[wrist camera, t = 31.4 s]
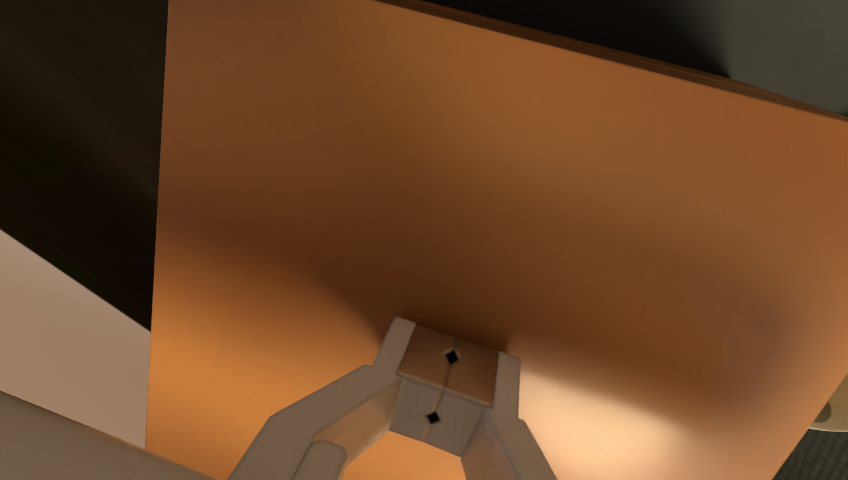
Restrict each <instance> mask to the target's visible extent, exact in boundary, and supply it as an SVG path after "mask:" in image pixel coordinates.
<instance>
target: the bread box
mask: <svg viewBox="0 0 848 480" xmlns="http://www.w3.org/2000/svg"><path fill="white" fill-rule="evenodd" d="M375 1H379V2H383V3H387V4H391V5H395V6H399V7H403V8H407V9H410V10H414V11H418V12H422V13H426V14H430V15H434V16H438V17H442V18H446V19H450V20H454V21H457V22H461V23H465V24H469V25H473V26H477V27H481V28H485V29H489V30H493V31H497V32H500V33H504V34H508V35H512V36H516V37H520V38H524V39H528V40H532V41H536V42H540V43H543V44H547V45H551V46H555V47H559V48H563V49H567V50H571V51H575V52H579V53H583V54H586V55H590V56H594V57H598V58H602V59H606V60H610V61H614V62H618V63H622V64H626V65H629V66H633V67H637V68H641V69H645V70H649V71H653V72H657V73H661V74H665V75H669V76H672V77H676V78H680V79H684V80H688V81H692V82H696V83H700V84H704V85H708V86H712V87H716V88H719V89H723V90H727V91H731V92H735V93H739V94H743V95H747V96H751V97H755V98H759V99H762V100H766V101H770V102H774V103H778V104H782V105H786V106H790V107H794V108H798V109H802V110H805V111H809V112H813V113H817V114H821V115H825V116H829V117H833V118H837V119H841V120H845V121H848V117H846V116H843V115H840V114H837V113H834V112H831V111H828V110H825V109H822V108H819V107H816V106H813V105H810V104H807V103H804V102H801V101H798V100H795V99H792V98H789V97H785V96H782V95H779V94H776V93H773V92H770V91H767V90H764V89H761V88H758V87H755V86H752V85H749V84H746V83H743V82H740V81H737V80H734V79H731V78H727V77H723V76H719V75H715V74H711V73H707V72H703V71H699V70H695V69H691V68H687V67H683V66H679V65H675V64H671V63H667V62H663V61H659V60H655V59H651V58H647V57H643V56H640V55H636V54H632V53H628V52H624V51H620V50H616V49H612V48H608V47H604V46H600V45H596V44H592V43H588V42H584V41H580V40H576V39H572V38H568V37H564V36H560V35H556V34H552V33H549V32H545V31H541V30H537V29H533V28H529V27H525V26H521V25H517V24H513V23H509V22H505V21H501V20H497V19H493V18H489V17H485V16H481V15H477V14H473V13H469V12H465V11H461V10H458V9H454V8H450V7H446V6H442V5H438V4H434V3H430V2H426V1H422V0H375Z"/></svg>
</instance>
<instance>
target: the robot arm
mask: <svg viewBox="0 0 848 480" xmlns="http://www.w3.org/2000/svg"><path fill="white" fill-rule="evenodd" d="M520 369H521V360H520V358H519V357H517V356H514V355H511V354H508V353H505V352H502V351H497V350H495V349H492V348H489V347H486V346H483V345H480V344H477V343H474V342H471V341H468V340H465V339H462V338H459V337H455V336H452V335H450V334H447V333H444V332H442V331H439V330H436V329H433V328H431V327H428V326H425V325H422V324H420V323H415V322H413V321H410V320H407V319H405V318H402V317H399V316H396V317H395V318H394V320H393V322H392V324H391V326H390V328H389V330H388V332H387V334H386V336H385V339H384V341H383V343H382V345H381V347H380V349H379V351H378V353H377V355H376V357H375V359H374V362H373V364H372V366H370V365H367V364H364V365H362V366H361V367H359V368H357V369H355V370H353V371H351V372H350V373H348V374H346V375H344V376H342V377H340V378H339V379H337V380H335V381H333V382H331V383H330V384H328V385H326V386H324V387H322V388H320V389H319V390H317V391H315V392H313V393H311V394H309V395H308V396H306V397H304V398H302V399H300V400H298V401H297V402H295V403H293V404H291V405H289V406H288V407H286V408H284V409H282V410H280V411H278V412H277V413H275V414H273V415H271V416H270V417H269V418H268V420H267V421H266V423H265V424H264V426H263V427H262V428H261V430H260V431H259V433H258V434H257V436H256V437H255V439H254V440H253V442H252V443H251V445H250V446H249V448H248V449H247V451H246V452H245V454H244V455H243V457H242V458H241V459H240V461H239V462H238V464H237V465H236V467H235V468H234V470H233V471H232V473H231V474H230V476H229V477H228V479H227V480H343V476H344V471H345V468H346V467H347V466H348V465H350V464H351V463H352V462H353V461H354V460H356V459H357V458H358V457H359V456H360V455H361V454H363V453H364V452H365V451H366V450H367V449H369V448H370V447H371V446H372V445H373V444H375V443H376V442H377V441H378V440H379V439H381V438H382V437H383V436H384V435H385V434H387V433H388V431H391V432H394V433H397V434H400V435H403V436H406V437H409V438H412V439H415V440H418V441H421V442H425V443H426V444H429V445H431V446H434V447H436V448H439V449H441V450H444V451H446V452H449V453H451V454H453V455H456V456H458V457H461V459H460V460H461V463H462V467H463V470H464V473H465V477H466V480H558V479H557V478H556V476H555V474H554V472H553V470H552V469H551V467H550V465H549V463H548V461H547V460H546V458H545V456H544V454H543V452H542V451H541V449H540V447H539V445H538V443H537V442H536V440H535V438H534V436H533V434H532V433H531V431H530V429H529V427H528V425H527V424H526V422H525V421H524V420H521V419H519V418H518V414H519V392H520ZM0 480H220V479H218V478H215V477H213V476H210V475H208V474H205V473H203V472H200V471H198V470H195V469H193V468H190V467H188V466H185V465H183V464H181V463H178V462H176V461H173V460H171V459H168V458H166V457H163V456H161V455H158V454H156V453H153V452H151V451H148V450H146V449H143V448H141V447H138V446H136V445H133V444H131V443H129V442H126V441H123V440H121V439H118V438H116V437H114V436H111V435H109V434H106V433H104V432H101V431H99V430H96V429H94V428H91V427H89V426H87V425H84V424H82V423H79V422H76V421H74V420H71V419H69V418H67V417H64V416H62V415H59V414H57V413H54V412H52V411H49V410H47V409H44V408H42V407H40V406H37V405H35V404H32V403H29V402H27V401H25V400H22V399H20V398H17V397H15V396H12V395H10V394H7V393H5V392H2V391H0Z"/></svg>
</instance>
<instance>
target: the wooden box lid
mask: <svg viewBox="0 0 848 480" xmlns="http://www.w3.org/2000/svg"><path fill="white" fill-rule="evenodd" d="M396 316H399V317H402V318H405V319H407V320H410V321H413V322H415V323H420V324H422V325H425V326H428V327H431V328H433V329H436V330H439V331H442V332H444V333H447V334H450V335H452V336H455V337H459V338H462V339H465V340H468V341H471V342H474V343H477V344H480V345H483V346H486V347H489V348H492V349H495V350H497V351H502V352H505V353H508V354H511V355H514V356H517V357H519V358H520V360H521V369H520V392H519V414H518V418H519V419H521V420H524V421H525V422H526V424H527V425H528V427H529V429H530V431H531V433H532V434H533V436H534V438H535V440H536V442H537V443H538V445H539V447H540V449H541V451H542V452H543V454H544V456H545V458H546V460H547V461H548V463H549V465H550V467H551V469H552V470H553V472H554V474H555V476H556V478H557V479H558V480H772V479H773V477H774V476H775V474H776V473H777V472H778V470H779V469H780V467H781V466H782V465H783V463H784V462H785V461H786V459H787V458H788V456H789V455H790V454H791V452H792V451H793V449H794V448H795V447H796V445H797V444H798V442H799V441H800V440H801V438H802V437H803V435H804V434H805V433H806V431H807V430H808V428H809V427H810V426H811V424H812V423H813V421H814V420H815V419H816V417H817V416H818V415H819V413H820V412H821V410H822V409H823V408H824V406H825V405H826V403H827V402H828V401H829V399H830V398H831V396H832V395H833V394H834V392H835V391H836V389H837V388H838V387H839V385H840V384H841V382H842V381H843V380H844V378H845V377H846V376H847V374H848V121H845V120H841V119H837V118H833V117H829V116H825V115H821V114H817V113H813V112H809V111H805V110H802V109H798V108H794V107H790V106H786V105H782V104H778V103H774V102H770V101H766V100H762V99H759V98H755V97H751V96H747V95H743V94H739V93H735V92H731V91H727V90H723V89H719V88H716V87H712V86H708V85H704V84H700V83H696V82H692V81H688V80H684V79H680V78H676V77H672V76H669V75H665V74H661V73H657V72H653V71H649V70H645V69H641V68H637V67H633V66H629V65H626V64H622V63H618V62H614V61H610V60H606V59H602V58H598V57H594V56H590V55H586V54H583V53H579V52H575V51H571V50H567V49H563V48H559V47H555V46H551V45H547V44H543V43H540V42H536V41H532V40H528V39H524V38H520V37H516V36H512V35H508V34H504V33H500V32H497V31H493V30H489V29H485V28H481V27H477V26H473V25H469V24H465V23H461V22H457V21H454V20H450V19H446V18H442V17H438V16H434V15H430V14H426V13H422V12H418V11H414V10H410V9H407V8H403V7H399V6H395V5H391V4H387V3H383V2H379V1H375V0H169V6H168V25H167V43H166V62H165V81H164V100H163V118H162V137H161V156H160V175H159V193H158V212H157V231H156V250H155V268H154V287H153V306H152V324H151V343H150V363H149V381H148V399H147V418H146V419H147V420H146V437H145V449H146V450H148V451H151V452H153V453H156V454H158V455H161V456H163V457H166V458H168V459H171V460H173V461H176V462H178V463H181V464H183V465H185V466H188V467H190V468H193V469H195V470H198V471H200V472H203V473H205V474H208V475H210V476H213V477H215V478H218V479H220V480H227V479H228V477H229V476H230V474H231V473H232V471H233V470H234V468H235V467H236V465H237V464H238V462H239V461H240V459H241V458H242V457H243V455H244V454H245V452H246V451H247V449H248V448H249V446H250V445H251V443H252V442H253V440H254V439H255V437H256V436H257V434H258V433H259V431H260V430H261V428H262V427H263V426H264V424H265V423H266V421H267V420H268V418H269V417H270V416H271V415H273V414H275V413H277V412H278V411H280V410H282V409H284V408H286V407H288V406H289V405H291V404H293V403H295V402H297V401H298V400H300V399H302V398H304V397H306V396H308V395H309V394H311V393H313V392H315V391H317V390H319V389H320V388H322V387H324V386H326V385H328V384H330V383H331V382H333V381H335V380H337V379H339V378H340V377H342V376H344V375H346V374H348V373H350V372H351V371H353V370H355V369H357V368H359V367H361V366H362V365H364V364H367V365H370V366H372V364H373V362H374V359H375V357H376V355H377V353H378V351H379V349H380V347H381V345H382V343H383V341H384V339H385V336H386V334H387V332H388V330H389V328H390V326H391V324H392V322H393V320H394V318H395V317H396ZM460 459H461V457H458V456H456V455H453V454H451V453H449V452H446V451H444V450H441V449H439V448H436V447H434V446H431V445H429V444H426V443H425V442H421V441H418V440H415V439H412V438H409V437H406V436H403V435H400V434H397V433H394V432H391V431H388V433H387V434H385V435H384V436H383V437H382V438H381V439H379V440H378V441H377V442H376V443H375V444H373V445H372V446H371V447H370V448H369V449H367V450H366V451H365V452H364V453H363V454H361V455H360V456H359V457H358V458H357V459H356V460H354V461H353V462H352V463H351V464H350V465H348V466H347V467H346V468H345V471H344V476H343V480H466V477H465V473H464V470H463V467H462V463H461V460H460Z"/></svg>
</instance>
